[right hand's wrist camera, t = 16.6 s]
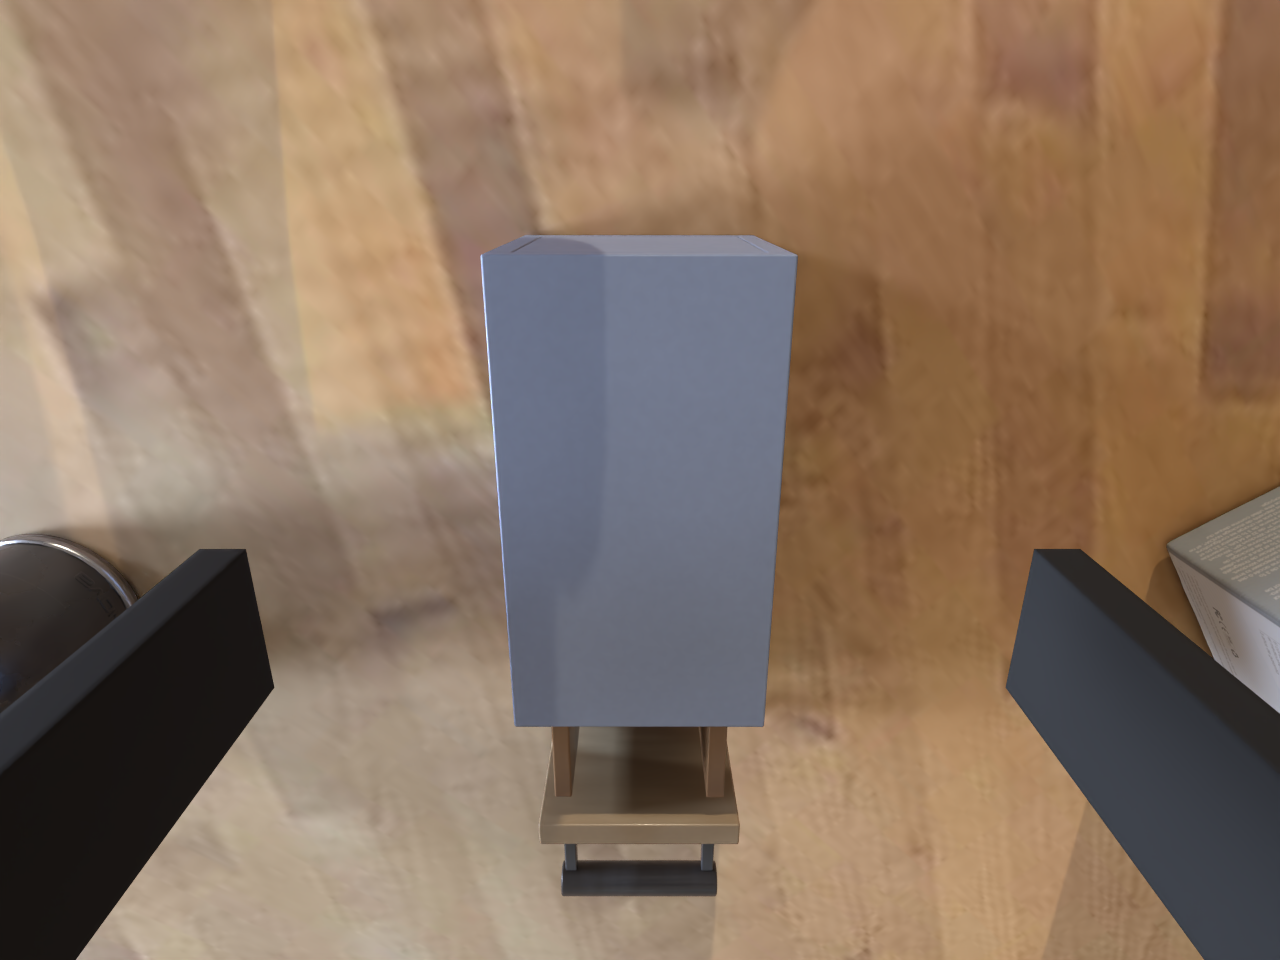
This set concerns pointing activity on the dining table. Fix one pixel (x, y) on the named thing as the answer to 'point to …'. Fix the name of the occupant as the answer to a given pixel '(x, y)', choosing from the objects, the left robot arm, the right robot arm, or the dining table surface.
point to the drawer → (639, 806)
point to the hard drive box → (1238, 590)
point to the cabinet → (639, 472)
